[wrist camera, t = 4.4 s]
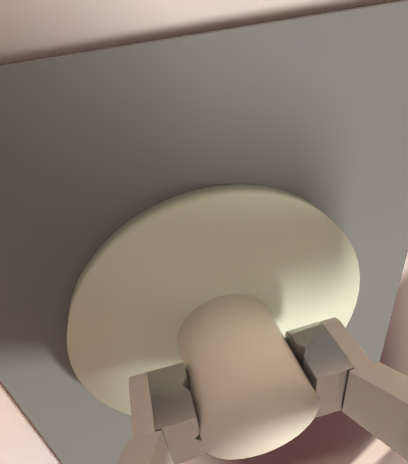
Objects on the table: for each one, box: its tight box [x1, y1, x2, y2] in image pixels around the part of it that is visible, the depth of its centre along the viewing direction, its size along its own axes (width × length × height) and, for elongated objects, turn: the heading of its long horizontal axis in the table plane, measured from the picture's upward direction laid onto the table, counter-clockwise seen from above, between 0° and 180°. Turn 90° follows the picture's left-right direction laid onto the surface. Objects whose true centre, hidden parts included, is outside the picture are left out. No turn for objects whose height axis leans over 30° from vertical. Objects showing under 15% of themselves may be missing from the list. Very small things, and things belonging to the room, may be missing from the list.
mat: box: [0, 0, 408, 464], centre depth 12 cm, size 14×16×1 cm
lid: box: [67, 184, 360, 459], centre depth 10 cm, size 9×9×4 cm
